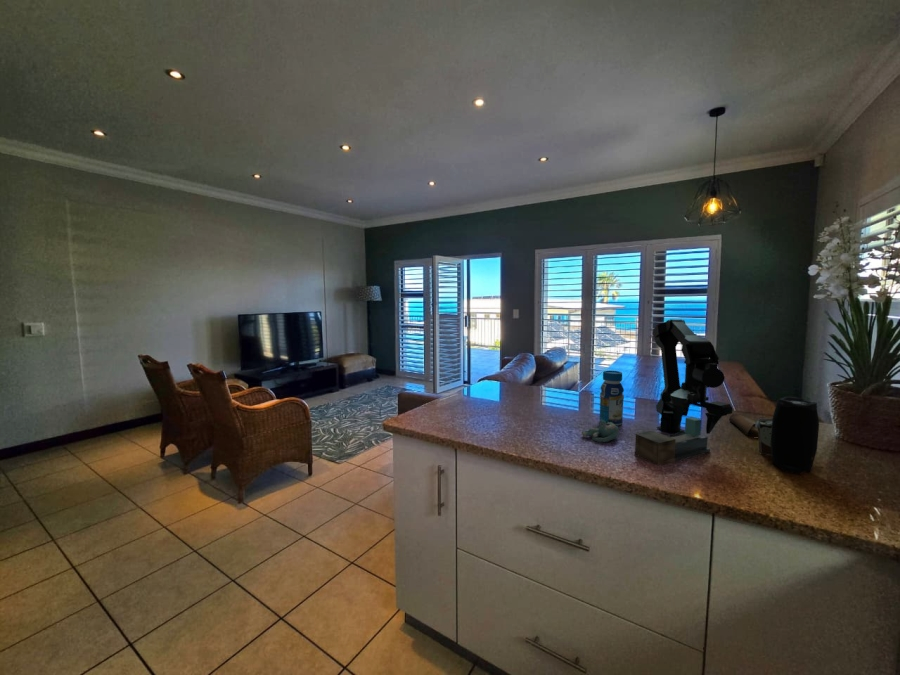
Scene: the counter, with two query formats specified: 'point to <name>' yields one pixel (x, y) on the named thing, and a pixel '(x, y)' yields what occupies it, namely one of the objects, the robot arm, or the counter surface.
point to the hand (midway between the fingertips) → (692, 428)
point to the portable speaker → (794, 434)
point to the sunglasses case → (745, 425)
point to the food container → (764, 435)
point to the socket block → (655, 447)
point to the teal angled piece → (690, 430)
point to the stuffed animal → (603, 432)
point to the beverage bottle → (612, 397)
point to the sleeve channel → (690, 447)
